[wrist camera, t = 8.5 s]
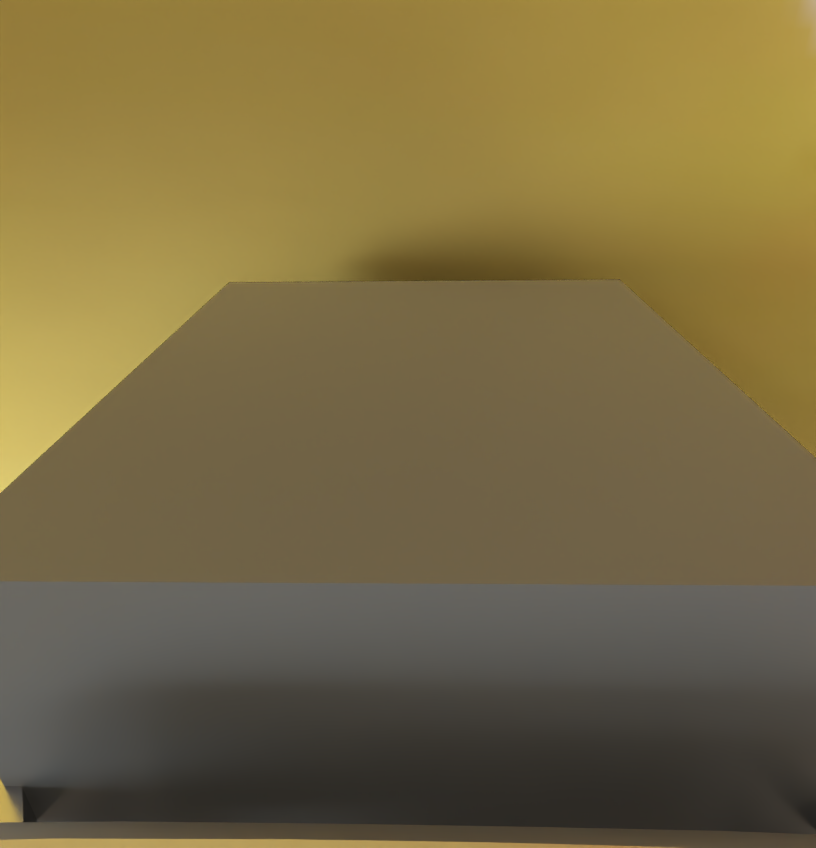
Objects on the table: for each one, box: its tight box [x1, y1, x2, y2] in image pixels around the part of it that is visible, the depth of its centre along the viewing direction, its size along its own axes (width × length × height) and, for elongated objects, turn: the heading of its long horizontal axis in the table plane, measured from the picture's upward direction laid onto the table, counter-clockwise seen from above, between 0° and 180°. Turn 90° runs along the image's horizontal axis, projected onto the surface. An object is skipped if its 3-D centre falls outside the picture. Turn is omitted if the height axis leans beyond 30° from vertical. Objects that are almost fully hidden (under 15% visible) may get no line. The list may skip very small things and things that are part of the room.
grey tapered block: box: [0, 279, 816, 834], centre depth 10 cm, size 8×8×9 cm
